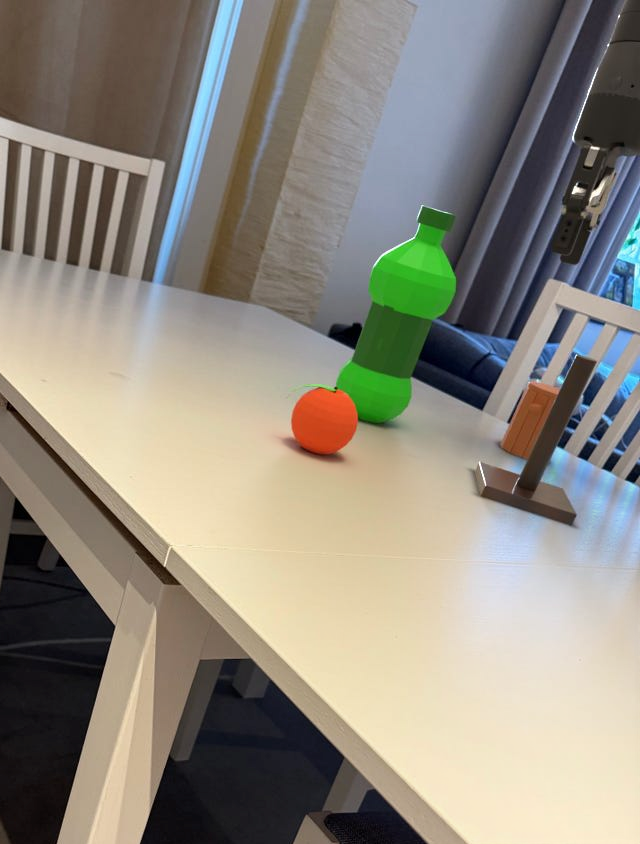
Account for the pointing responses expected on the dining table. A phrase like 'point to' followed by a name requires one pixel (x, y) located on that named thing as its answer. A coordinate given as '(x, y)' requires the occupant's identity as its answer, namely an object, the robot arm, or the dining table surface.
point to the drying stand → (540, 457)
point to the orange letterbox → (529, 418)
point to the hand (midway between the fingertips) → (564, 258)
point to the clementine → (324, 419)
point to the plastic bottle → (399, 319)
